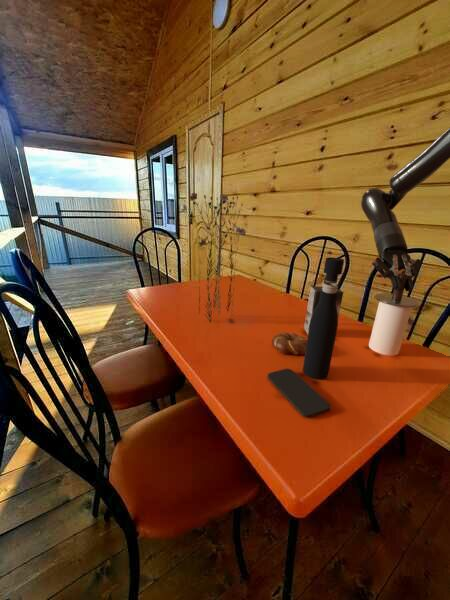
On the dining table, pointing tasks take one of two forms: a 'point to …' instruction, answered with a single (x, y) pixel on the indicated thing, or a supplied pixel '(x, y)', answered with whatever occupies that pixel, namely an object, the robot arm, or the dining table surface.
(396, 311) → the cup
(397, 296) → the lid
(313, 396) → the phone
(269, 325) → the dining table surface
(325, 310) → the dark water bottle
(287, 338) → the pretzel
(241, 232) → the wildflower
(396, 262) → the robot arm
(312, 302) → the coffee box
